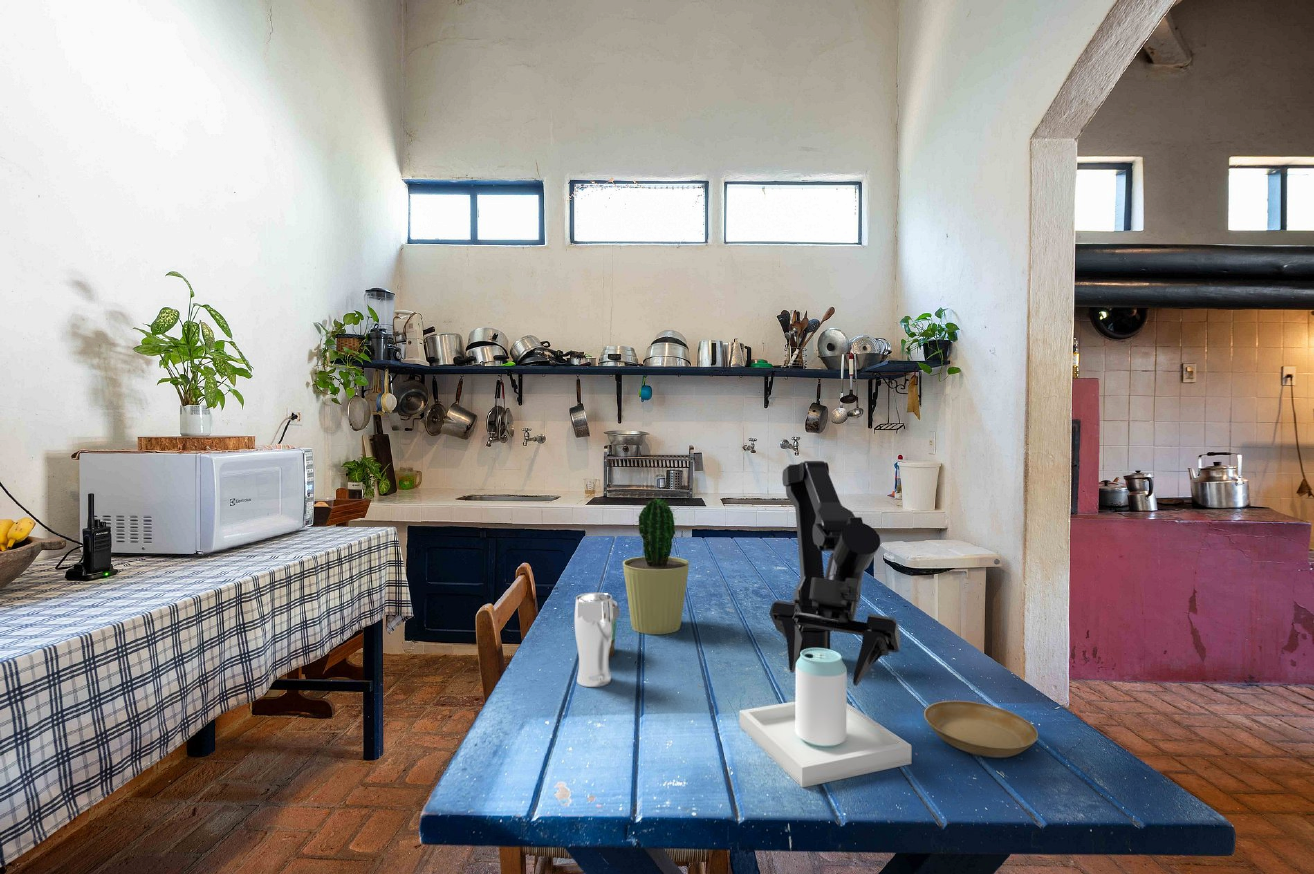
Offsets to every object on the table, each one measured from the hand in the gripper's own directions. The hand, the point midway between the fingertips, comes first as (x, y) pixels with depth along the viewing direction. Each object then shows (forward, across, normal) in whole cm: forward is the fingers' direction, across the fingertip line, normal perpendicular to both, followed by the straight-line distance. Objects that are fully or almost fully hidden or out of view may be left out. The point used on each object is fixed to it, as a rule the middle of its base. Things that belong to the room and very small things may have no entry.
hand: (822, 677), depth 89 cm
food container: (-2, -47, +15) cm, 50 cm away
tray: (+7, 0, +5) cm, 9 cm away
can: (+7, 0, +5) cm, 9 cm away
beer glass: (+6, -41, +7) cm, 42 cm away
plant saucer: (-2, +20, +16) cm, 25 cm away
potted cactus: (-17, -48, +30) cm, 59 cm away
